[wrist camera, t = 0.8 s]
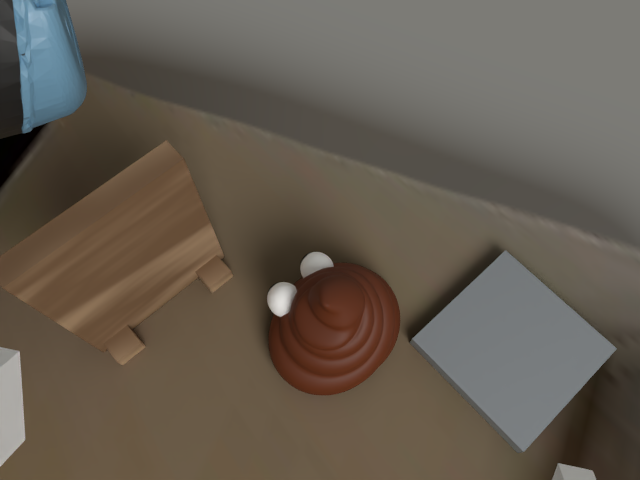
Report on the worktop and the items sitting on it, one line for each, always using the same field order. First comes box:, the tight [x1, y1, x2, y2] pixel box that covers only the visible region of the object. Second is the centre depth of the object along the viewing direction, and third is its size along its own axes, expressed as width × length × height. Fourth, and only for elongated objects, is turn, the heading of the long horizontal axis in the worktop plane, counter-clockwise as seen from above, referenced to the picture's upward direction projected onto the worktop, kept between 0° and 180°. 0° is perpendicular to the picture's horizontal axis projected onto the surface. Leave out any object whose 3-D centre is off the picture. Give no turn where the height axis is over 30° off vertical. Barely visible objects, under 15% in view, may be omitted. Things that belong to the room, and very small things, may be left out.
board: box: [410, 250, 617, 453], centre depth 40 cm, size 10×10×1 cm
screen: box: [0, 140, 233, 365], centre depth 36 cm, size 5×11×14 cm, turn 132°
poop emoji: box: [267, 252, 400, 395], centre depth 37 cm, size 10×8×9 cm
